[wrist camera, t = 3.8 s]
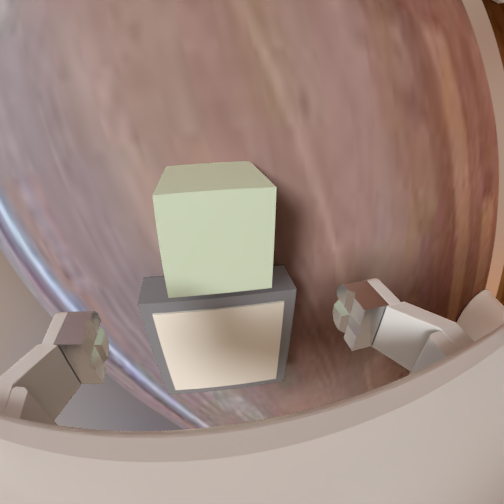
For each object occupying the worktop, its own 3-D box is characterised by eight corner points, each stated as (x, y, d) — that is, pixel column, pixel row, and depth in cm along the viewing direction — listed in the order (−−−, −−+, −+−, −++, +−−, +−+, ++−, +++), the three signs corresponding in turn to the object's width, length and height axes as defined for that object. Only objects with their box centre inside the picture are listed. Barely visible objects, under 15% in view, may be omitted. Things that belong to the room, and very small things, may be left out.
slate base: (283, 265, 21) (297, 290, 18) (275, 356, 25) (284, 382, 23) (143, 277, 19) (137, 306, 16) (168, 368, 24) (168, 395, 21)
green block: (249, 161, 17) (276, 187, 11) (249, 235, 19) (271, 287, 14) (166, 166, 16) (152, 195, 11) (173, 241, 18) (168, 297, 13)
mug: (436, 354, 34) (476, 409, 24) (440, 323, 30) (492, 385, 20) (485, 314, 34) (526, 359, 23) (493, 278, 29) (544, 326, 19)
